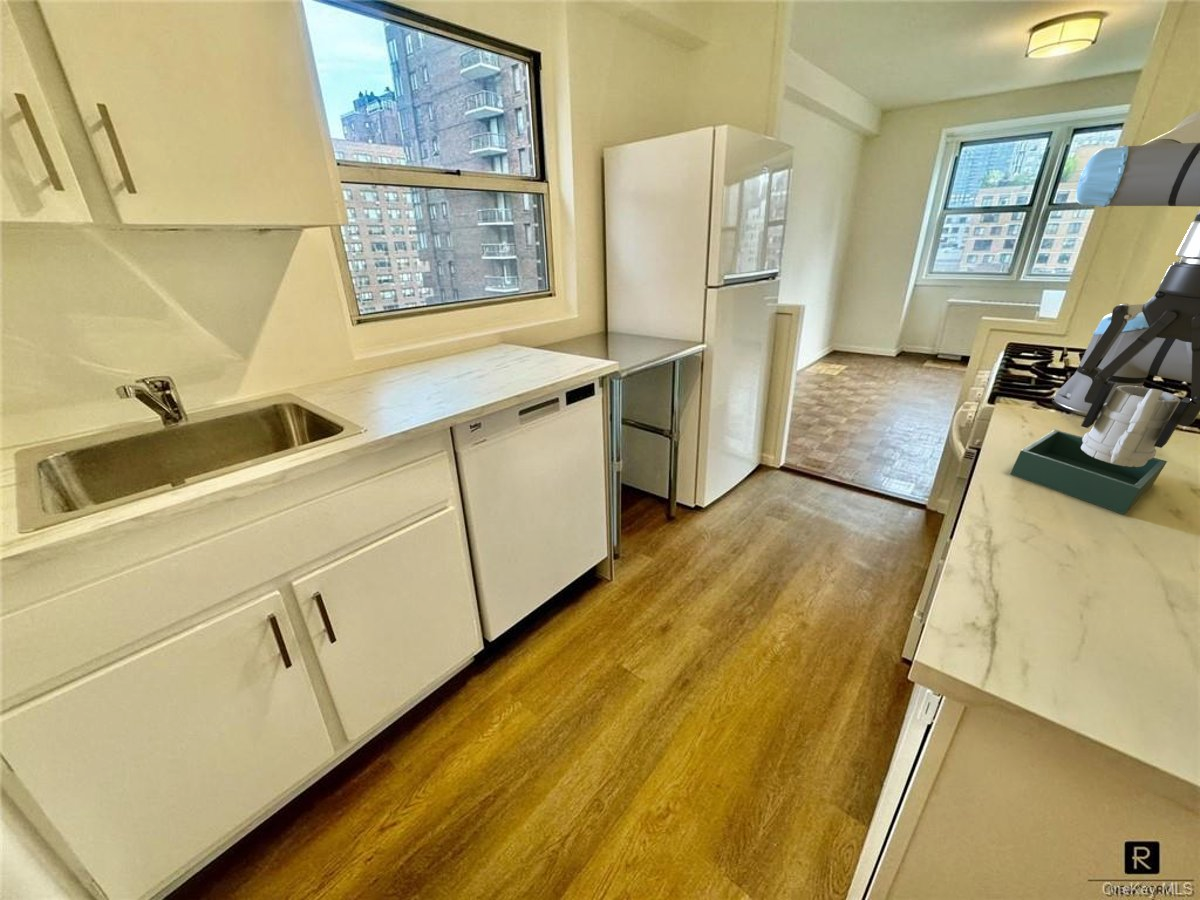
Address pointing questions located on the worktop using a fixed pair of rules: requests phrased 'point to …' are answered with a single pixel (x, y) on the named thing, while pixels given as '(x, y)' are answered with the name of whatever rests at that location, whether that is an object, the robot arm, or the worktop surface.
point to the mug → (1130, 426)
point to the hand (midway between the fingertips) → (1122, 434)
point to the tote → (1084, 472)
